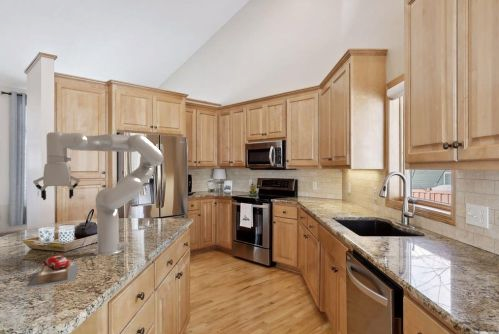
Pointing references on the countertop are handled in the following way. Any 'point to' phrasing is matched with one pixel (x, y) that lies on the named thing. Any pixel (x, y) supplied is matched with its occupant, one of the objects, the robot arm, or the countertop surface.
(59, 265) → the race car
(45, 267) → the tan flat block
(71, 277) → the gray board
